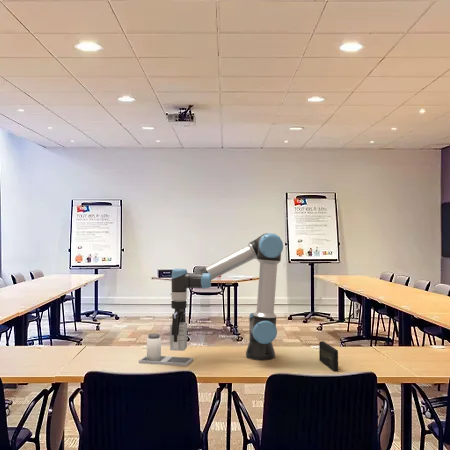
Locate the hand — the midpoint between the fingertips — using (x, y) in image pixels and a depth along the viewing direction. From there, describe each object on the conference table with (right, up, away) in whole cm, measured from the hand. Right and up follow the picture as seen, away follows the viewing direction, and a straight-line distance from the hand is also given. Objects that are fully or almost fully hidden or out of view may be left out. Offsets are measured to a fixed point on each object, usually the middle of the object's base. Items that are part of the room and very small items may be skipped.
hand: (178, 346), depth 251 cm
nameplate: (+73, -9, -2) cm, 74 cm away
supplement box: (0, -1, 0) cm, 1 cm away
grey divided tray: (-6, -9, +1) cm, 11 cm away
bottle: (-13, -8, +3) cm, 15 cm away
